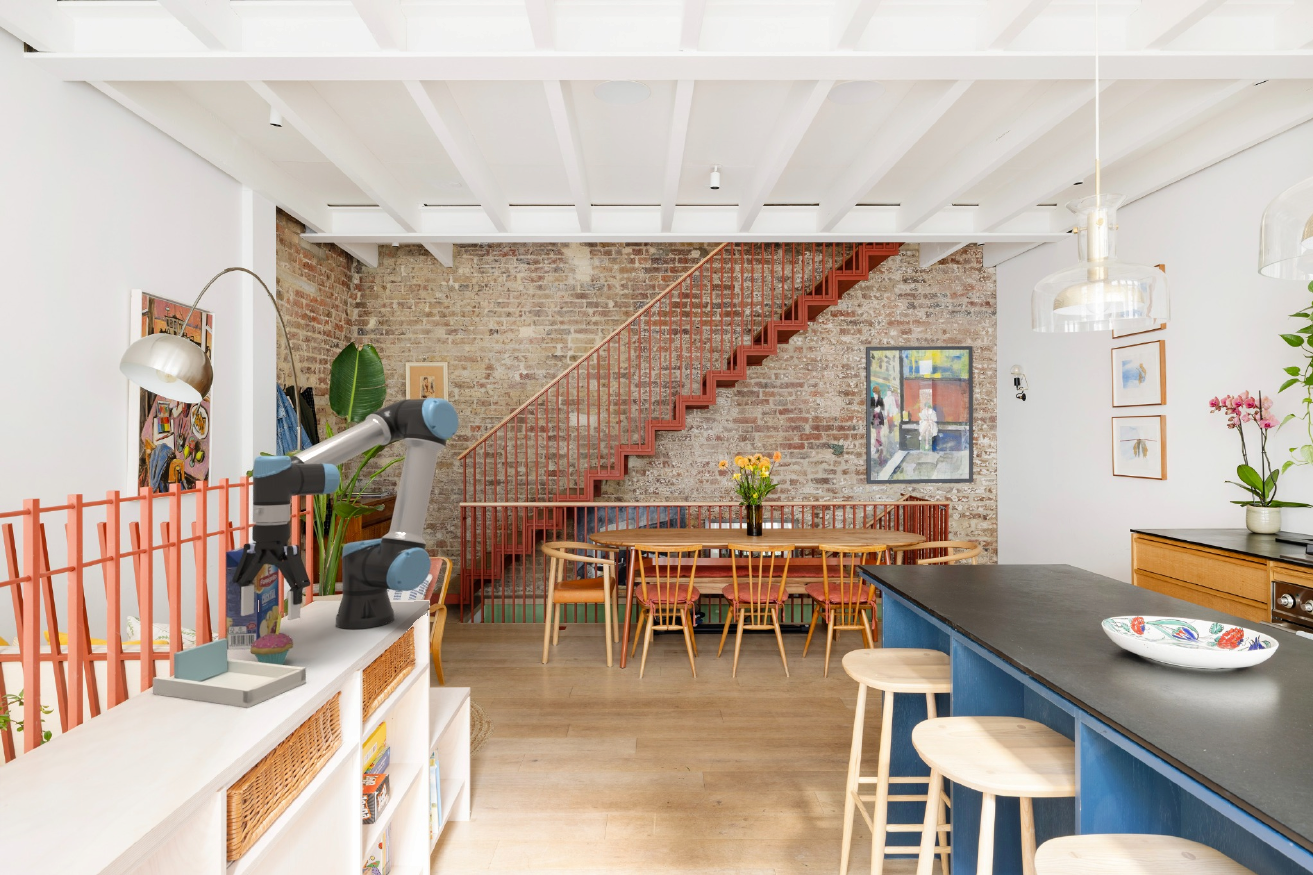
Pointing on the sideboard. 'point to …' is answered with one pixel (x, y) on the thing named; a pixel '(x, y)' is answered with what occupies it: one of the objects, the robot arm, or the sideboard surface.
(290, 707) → the sideboard surface
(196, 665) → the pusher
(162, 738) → the sideboard surface
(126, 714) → the sideboard surface
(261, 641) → the cupcake
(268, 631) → the juice carton
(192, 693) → the white shallow tray
